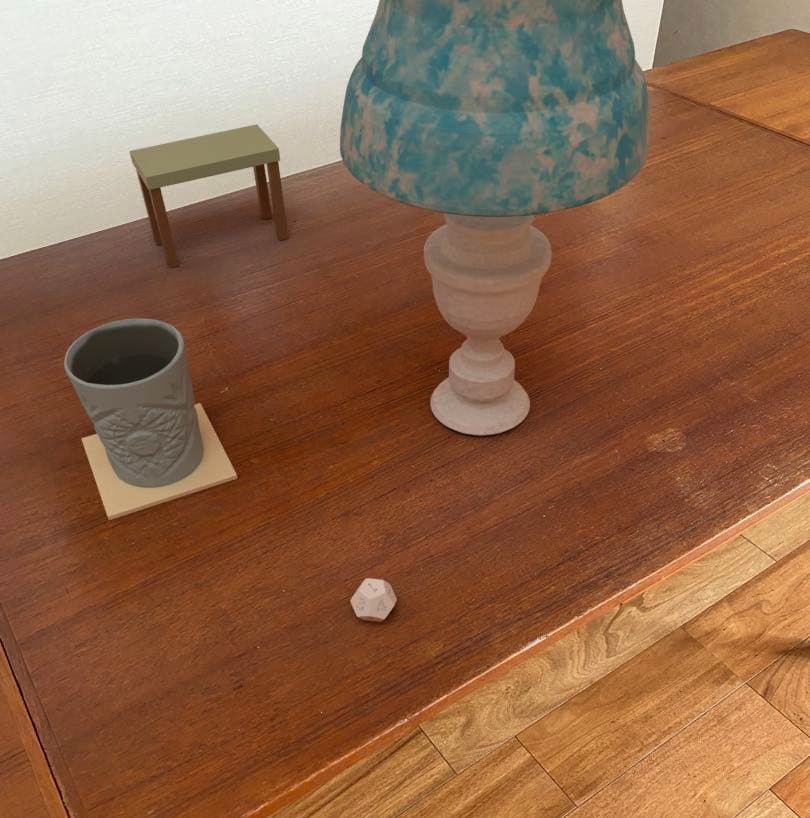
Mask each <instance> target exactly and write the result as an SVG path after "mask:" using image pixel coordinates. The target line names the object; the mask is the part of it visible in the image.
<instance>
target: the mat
mask: <svg viewBox="0 0 810 818" xmlns="http://www.w3.org/2000/svg"><path fill="white" fill-rule="evenodd" d="M194 407H195V409H196V411H197V416H198V422H199V428H200V433H201V437H202V442H203V449H204V451H203V456H202V460H201V462H200V464H199V465H198V467H197V468H196V469H195V470H194V471H193V472H192V473H191V474H190V475H188V476H187V477H185V478H184V479H182V480H180V481H178V482H175V483H173V484H170V485H166V486H162V487H154V488H151V487H149V488H146V487H138V486H134V485H130V484H128V483H125V482H124V481H123V480H121V479H119V477H118V476H117V475H116V473H115V472H114V470H113V468H112V466H111V464H110V462H109V460H108V457H107V454H106V451H105V447H104V445H103V444H102V442H101V440H100V438H99V436H98V434H97V433H93V434H91V435H87V436H84V437H81V438H80V439H81V442H82V445H83V448H84V451H85V454H86V457H87V460H88V463H89V466H90V469H91V472H92V474H93V477H94V481H95V484H96V488H97V489H98V493H99V495H100V498H101V502H102V504H103V508H104V511H105V513H106V516H107V519H108V521H111V520H115V519H118V518H121V517H125V516H128V515H130V514H134V513H136V512H139V511H142V510H145V509H149V508H152V507H155V506H158V505H161V504H164V503H168V502H171V501H173V500H176V499H180V498H183V497H186V496H189V495H191V494H194V493H198V492H201V491H204V490H207V489H211V488H214V487H216V486H219V485H223V484H226V483H228V482H232V481H234V480H237V479H238V474H237V472H236V470H235V468H234V466H233V464H232V463H231V460H230V458H229V456H228V455H227V453H226V451H225V448H224V446H223V445H222V443H221V440H220V439H219V437H218V434H217V433H216V431H215V429H214V427H213V424H212V423H211V421H210V419H209V416H208V415H207V412H206V411H205V409H204V406H203V405H202V403H201V402H198V403H195V406H194Z"/></svg>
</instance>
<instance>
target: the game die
mask: <svg viewBox="0 0 810 818" xmlns="http://www.w3.org/2000/svg"><path fill="white" fill-rule="evenodd" d="M397 601H398V599H397V596H396V594H395V592H394V589H393V587H392V585H391V584H390V583H389V582H388V581H386V580H385V579H379V578H368V577H365V579H364V580H363V581H362V582H361V584H360V585H359V587H358V588H357V589H356V591H355V592H354V593H353V595H352V597H351V599H350V600H349V602H350V605H351V606H352V608H353V611H354V613H355V615H356V617H357V618H359V619H361V620H363V621H367V622H368V621H369V622H376V623H377V622H378V623H382V622H383V621H384V620H386V618H387V617H388V615H389V614H390V612H391V611H392V609H393V608H395V605H396V603H397Z"/></svg>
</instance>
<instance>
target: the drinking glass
mask: <svg viewBox="0 0 810 818" xmlns="http://www.w3.org/2000/svg"><path fill="white" fill-rule="evenodd" d="M183 337H184V336H183V335H182V333H181V332H180V331H179V329H177V328H176V327H174V326H173V325H172V324H170V323H167V322H164V321H162V320H159V319H154V318H153V319H152V318H139V317H138V318H125V319H119V320H115V321H111V322H108V323H105V324H102V325H99V326H97V327H95V328H93V329H90V330H88V331H87V332H85V333H83V334H81V336H79V337H78V338H77V339H75V341H73V342H72V344H71V345H70V346H69V347H68V349H67V350H66V353H65V355H64V363H63V367H64V370H65V373H66V375H67V376H68V379H69V381H70V383H71V385H72V386H73V389H74V390H75V393H76V395H77V397H78V399H79V402H80V403H81V405H82V407H83V408H84V410H85V411H86V414H87V416H88V418H89V419H90V421H91V422H92V423H93V429H94V431H95V434H98V436H99V438H100V440H101V442H102V444H103V445H104V447H105V451H106V454H107V457H108V460H109V462H110V464H111V466H112V468H113V470H114V472H115V473H116V475H117V476H118V477H119V479H121V480H123V481H124V482H125V483H128V484H130V485H134V486H138V487H146V488H149V487H151V488H154V487H162V486H166V485H170V484H173V483H175V482H178V481H180V480H182V479H184V478H185V477H187V476H188V475H190V474H191V473H192V472H193V471H194V470H195V469H196V468H197V467H198V465H199V464H200V462H201V460H202V456H203V451H204V449H203V442H202V437H201V433H200V428H199V422H198V416H197V411H196V409H195V407H194V406H195V404H196V400H195V396H194V395H195V394H194V391H193V390H194V389H193V384H192V379H191V375H190V370H189V365H188V358H187V352H186V346H185V341H184V338H183Z"/></svg>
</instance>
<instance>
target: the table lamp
mask: <svg viewBox="0 0 810 818" xmlns="http://www.w3.org/2000/svg"><path fill="white" fill-rule="evenodd" d="M378 1H379V2H378V4H377V8H376V12H375V16H374V18H373V20H372V23H371V25H370V28H369V30H368V33H367V34H366V35H367V36H366V38H365V40H364V43H363V45H362V50H361V51H362V52H361V58H359V60H358V61H357V62H356V64H355V65H354V67H353V70H352V72H351V74H350V77H349V80H348V83H347V85H346V90H345V95H344V101H343V106H342V113H341V121H340V129H339V130H340V131H339V133H340V134H339V153H340V156H341V157H340V158H341V159H342V162H343V165H344V167H345V168H346V169H347V170H348V171H349V173H350V174H351V175H352V176H353V177H354V178H355V179H356V181H358V182H360V183H361V184H363V185H364V186H365V187H367V188H368V189H370V190H371V191H372V192H374V193H377V194H378V195H380V196H383V197H385V198H387V199H389V200H391V201H394V202H398V203H401V204H404V205H406V206H410V207H412V208H416V209H421V210H426V211H430V212H434V213H439V214H443V217H444V221H445V224H444V225H441V226H439V227H438V228H437V229H435V230H434V231H432V232H431V234H430V235H429V236H428V237H427V239H426V241H425V243H424V246H423V263H424V266H425V268H426V270H427V272H428V274H430V277H431V285H432V293H433V296H434V297H433V298H434V300H435V303H436V306H437V309H438V311H439V313H440V314H441V315H442V318H443V319H444V321H445V322H446V323H447V324H448V325H449V326H450V327H451V328H452V329H454V330H455V331H456V332H459V333H460V334H462V335H464V336H465V337H466V339H465V340H464V342H463V343H462V344H461V347H459V348H457V349H456V350H455V351H454V352H452V354H451V355H450V357H449V359H448V377H446V378H445V379H444V380H443V381H442V382H439V384H438V386H436V387H435V389H434V390H433V391H432V394H431V397H430V402H429V403H430V404H429V405H430V409H431V413H433V415H434V417H435V418H436V419H437V420H438V421H439V422H440V423H441V424H442V425H444V426H445V427H447V428H449V429H451V430H453V431H456V432H458V433H460V434H463V435H471V436H478V437H484V436H491V435H492V436H493V435H499V434H501V433H504V432H506V431H508V430H511V429H513V428H515V427H516V426H518V425H519V424H521V423H522V422H523V421H524V420H525V419H526V417H527V416H528V414H529V412H530V408H531V400H530V397H529V395H528V392H527V391H526V390H525V389H524V387H523V386H522V384H520V383H519V382H518V381H517V380H516V379H515V371H516V370H515V369H516V360H515V358H514V356H513V355H512V353H511V352H510V351H508V349H505V346H504V344H503V343H502V342H501V340H500V338H502V337H504V336H505V335H507V334H510V333H511V332H514V330H516V329H517V328H518V327H519V326H521V325H522V324H523V323H524V322H525V321H526V319H527V318H528V317H529V316H530V313H531V312H532V311H533V309H534V306H535V304H536V302H537V298H538V294H539V290H540V286H541V281H542V278H543V277H544V276H545V275H546V274H547V272H548V271H549V268H550V265H551V262H552V255H553V252H552V245H551V243H550V240H549V239H548V237H547V236H546V235H545V234H544V233H543V232H542V231H541V230H539V229H537V228H536V227H535V226H533V225H532V224H533V223H534V220H535V216H536V215H544V214H550V213H557V212H561V211H566V210H570V209H574V208H578V207H582V206H584V205H585V206H586V205H587V204H590V203H593V202H596V201H599V200H602V199H604V198H606V197H607V196H609V195H611V194H614V193H615V192H617V191H619V190H621V189H622V188H624V187H625V186H627V184H629V183H630V182H631V181H632V180H634V179H635V178H636V177H637V176H638V175H639V174H640V172H642V170H643V168H644V167H645V166H646V163H647V160H648V156H649V153H650V148H651V114H650V106H649V105H650V102H649V92H648V86H647V82H646V81H647V80H646V77H645V73H644V71H643V68H641V66H640V64H639V63H638V61H637V60H636V50H635V43H634V39H633V37H632V33H631V30H630V27H629V24H628V20H627V16H626V14H625V10H624V5H623V0H378Z"/></svg>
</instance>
